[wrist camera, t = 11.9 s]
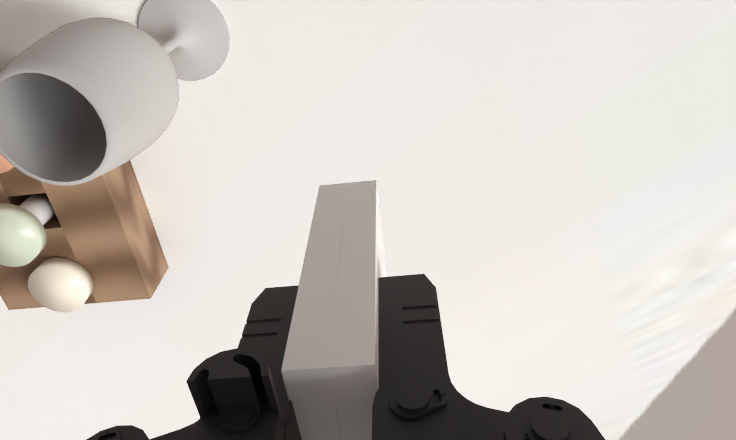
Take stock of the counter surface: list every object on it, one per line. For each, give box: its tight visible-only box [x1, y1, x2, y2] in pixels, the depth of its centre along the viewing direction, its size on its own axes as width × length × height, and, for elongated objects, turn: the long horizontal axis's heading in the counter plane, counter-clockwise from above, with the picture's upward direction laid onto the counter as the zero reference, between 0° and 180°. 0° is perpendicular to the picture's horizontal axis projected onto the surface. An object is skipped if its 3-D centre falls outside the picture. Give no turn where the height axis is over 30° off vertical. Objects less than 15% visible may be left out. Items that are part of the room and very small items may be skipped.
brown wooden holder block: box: [0, 160, 168, 310], centre depth 49 cm, size 20×14×5 cm
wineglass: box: [0, 0, 229, 186], centre depth 35 cm, size 8×8×21 cm
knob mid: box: [0, 193, 55, 267], centre depth 45 cm, size 5×5×6 cm
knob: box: [28, 258, 93, 312], centre depth 51 cm, size 5×5×6 cm
